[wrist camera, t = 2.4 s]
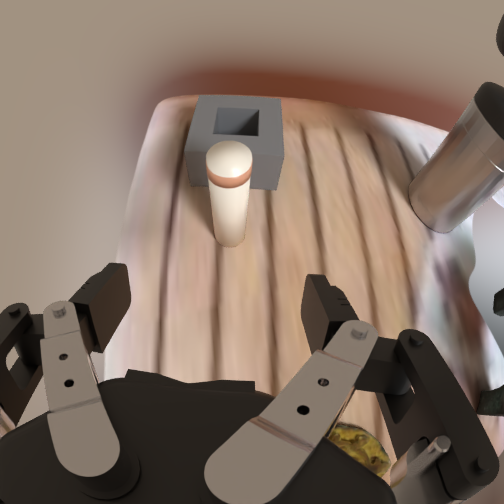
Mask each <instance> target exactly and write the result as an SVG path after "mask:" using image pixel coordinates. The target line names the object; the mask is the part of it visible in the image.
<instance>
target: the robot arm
mask: <svg viewBox="0 0 504 504" xmlns="http://www.w3.org/2000/svg"><path fill="white" fill-rule="evenodd" d="M496 42H497V46H498V48H499V51H500V52H501V54H502V55H503V56H504V15H503V17H502V19H501V21H500V23H499V26H498V30H497V34H496ZM503 186H504V88H503V87H502V86H499V85H497V84H495V83H492V82H485V83H484V84H482V85H481V87H480V88H479V90H478V91H477V93H476V94H475V96H474V97H473V99H472V100H471V102H470V103H469V105H468V106H467V108H466V109H465V111H464V112H463V114H462V115H461V117H460V118H459V120H458V121H457V123H456V124H455V125H454V127H453V128H452V130H451V131H450V132H449V134H448V135H447V137H446V138H445V139H444V141H443V142H442V143H441V145H440V146H439V147H438V149H437V150H436V151H435V153H434V154H433V155H432V157H431V158H430V159H429V160H428V162H427V163H426V164H425V166H424V167H423V168H422V169H421V171H420V172H419V173H418V174H417V176H416V177H415V178H414V180H413V181H412V182H411V183H410V186H409V192H408V193H409V199H410V202H411V205H412V207H413V209H414V211H415V213H416V214H417V216H418V217H419V218H420V219H421V220H422V222H423V223H424V224H426V225H427V226H428V227H429V228H431V229H432V230H434V231H437V232H439V233H448V232H450V231H452V230H453V229H454V228H456V227H457V226H458V225H459V224H460V223H462V222H463V221H464V220H465V219H467V218H468V217H469V216H470V215H471V214H473V213H474V212H475V211H476V210H477V209H478V208H480V207H481V206H482V205H483V204H484V203H485V202H486V201H488V200H489V199H490V198H491V197H492V196H493V195H494V194H495V193H496V192H497V191H499V190H500V189H501V188H502V187H503ZM130 304H131V291H130V285H129V277H128V270H127V266H126V264H121V263H109V264H108V265H107V266H106V267H105V268H104V269H103V270H102V271H101V272H99V273H97V274H95V275H93V276H92V277H90V278H89V279H88V280H87V281H86V282H85V284H83V285H82V287H81V289H79V290H78V291H77V292H76V293H75V294H74V295H73V296H72V297H71V298H70V300H69V301H58V302H55V303H52V304H51V305H49V306H48V307H46V309H45V310H44V313H43V314H34V315H33V314H32V315H31V314H30V311H29V308H28V306H27V305H26V304H24V303H16V304H13V305H10V306H8V307H7V308H6V309H5V310H3V312H2V313H1V314H0V504H461V503H463V502H464V501H466V500H467V499H469V498H470V497H472V496H473V495H475V494H476V493H478V492H479V491H480V490H482V489H483V488H485V487H486V486H487V485H489V484H490V483H491V482H492V481H493V480H494V479H495V478H496V476H497V474H498V471H499V460H498V457H497V454H496V452H495V450H494V448H493V446H492V444H491V442H490V440H489V438H488V436H487V434H486V432H485V430H484V428H483V426H482V424H481V422H480V420H479V418H478V416H477V414H476V413H475V411H474V409H473V407H472V405H471V404H470V402H469V400H468V398H467V397H466V395H465V393H464V391H463V390H462V388H461V386H460V385H459V383H458V381H457V380H456V378H455V377H454V375H453V373H452V372H451V370H450V369H449V367H448V365H447V364H446V362H445V361H444V359H443V358H442V356H441V355H440V353H439V351H438V350H437V348H436V347H435V345H434V344H433V342H432V341H431V340H430V338H429V337H428V336H427V335H425V334H424V333H422V332H420V331H418V330H413V329H406V330H403V331H402V332H400V334H399V336H398V339H397V340H395V339H389V338H383V337H379V336H378V332H377V330H376V329H375V328H374V327H373V326H372V325H370V324H369V323H366V322H364V321H360V320H359V318H358V317H357V315H356V313H355V311H354V310H353V308H352V306H351V305H350V303H349V301H348V300H347V297H346V296H345V294H344V292H343V291H341V290H340V289H339V288H337V287H336V286H330V284H329V282H328V280H327V278H326V276H325V275H318V274H308V275H307V276H306V280H305V286H304V292H303V298H302V304H301V319H302V322H303V326H304V329H305V333H306V336H307V340H308V343H309V347H310V350H311V354H312V356H311V357H310V358H309V360H308V361H307V362H306V363H305V364H304V366H303V367H302V368H301V369H300V370H299V372H298V373H297V374H296V375H295V376H294V377H293V379H292V380H291V381H290V382H289V383H288V384H287V386H286V387H285V388H284V389H283V390H282V391H281V392H280V393H279V395H278V396H277V397H274V396H272V395H269V394H266V393H263V392H260V391H256V390H255V381H235V380H217V381H208V382H199V383H184V382H181V381H178V380H175V379H172V378H169V377H166V376H163V375H160V374H157V373H150V372H144V371H137V370H131V369H128V371H127V373H126V376H125V378H115V379H110V380H106V381H103V382H101V383H100V382H99V379H98V376H97V374H96V371H95V368H94V365H93V362H92V359H91V356H90V354H91V352H92V351H93V352H98V353H103V352H104V350H105V348H106V346H107V345H108V343H109V341H110V339H111V338H112V336H113V334H114V332H115V331H116V329H117V327H118V326H119V324H120V322H121V320H122V319H123V317H124V315H125V314H126V312H127V310H128V309H129V307H130ZM13 346H14V347H15V349H16V351H17V353H18V355H19V358H18V359H17V360H16V362H15V364H14V365H13V366H12V368H11V369H10V371H9V370H8V369H7V366H6V357H7V354H8V353H9V352H10V350H11V349H12V348H13ZM43 375H44V382H45V389H46V394H47V400H48V406H49V411H47V412H46V413H44V414H42V415H40V416H38V417H36V418H34V419H32V420H31V421H29V422H27V423H25V424H23V425H21V426H19V427H17V428H16V426H17V424H18V422H19V420H20V418H21V416H22V414H23V412H24V410H25V408H26V406H27V404H28V402H29V400H30V398H31V396H32V394H33V393H34V391H35V389H36V387H37V385H38V383H39V382H40V380H41V378H42V376H43ZM411 385H412V387H413V389H414V392H413V390H412V388H411ZM355 390H362V391H369V392H375V394H376V396H377V399H378V402H379V405H380V408H381V411H382V414H383V417H384V420H385V423H386V426H387V429H388V432H389V435H390V438H391V441H392V445H393V448H394V451H395V455H396V458H397V462H396V463H395V464H394V465H393V466H392V469H391V472H390V480H391V482H390V486H389V485H388V484H387V483H386V482H385V481H384V480H383V479H382V478H381V477H379V476H378V475H377V474H375V473H374V472H372V471H371V470H369V469H368V468H367V467H365V466H364V465H362V464H361V463H360V462H358V461H357V460H356V459H354V458H353V457H352V456H350V455H349V454H348V453H346V452H345V451H344V450H342V449H341V448H340V447H338V446H337V445H336V444H335V443H333V442H332V441H331V440H329V439H328V438H329V437H330V435H331V433H332V431H333V430H334V428H335V426H336V424H337V423H338V421H339V419H340V418H341V416H342V414H343V412H344V411H345V409H346V407H347V405H348V403H349V402H350V400H351V398H352V396H353V394H354V392H355ZM414 393H415V395H414Z"/></svg>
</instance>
